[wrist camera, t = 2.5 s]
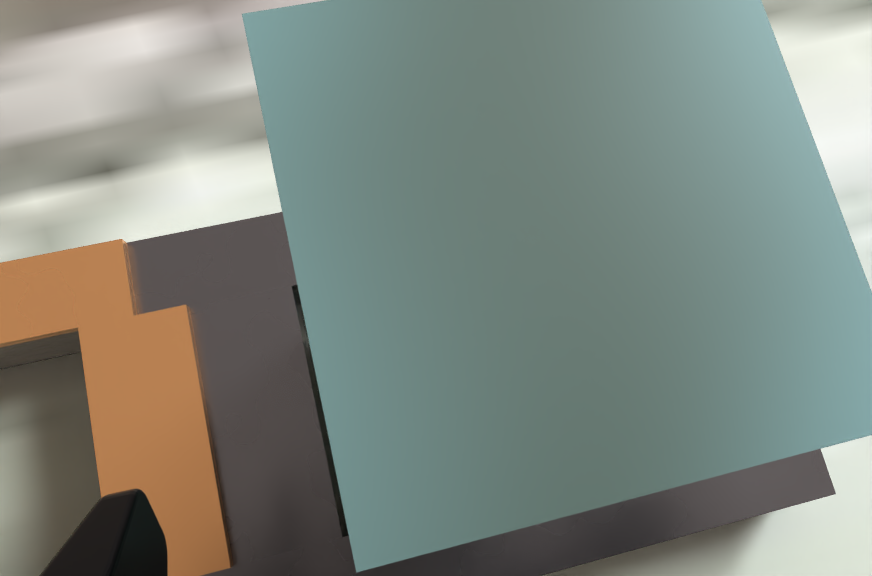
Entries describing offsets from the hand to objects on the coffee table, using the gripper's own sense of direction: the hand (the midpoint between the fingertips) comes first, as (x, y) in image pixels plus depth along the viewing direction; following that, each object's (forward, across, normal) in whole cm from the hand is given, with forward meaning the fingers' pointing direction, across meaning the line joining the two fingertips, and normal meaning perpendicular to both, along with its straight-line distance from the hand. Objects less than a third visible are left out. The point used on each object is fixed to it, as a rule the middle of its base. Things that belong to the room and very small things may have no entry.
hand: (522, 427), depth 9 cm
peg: (+7, 0, +5) cm, 9 cm away
